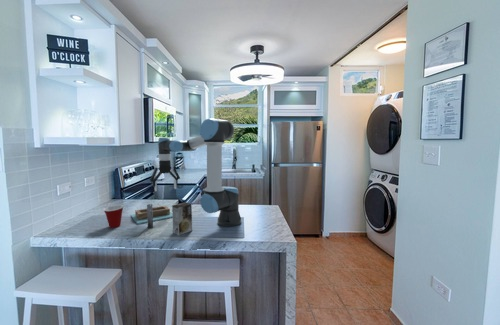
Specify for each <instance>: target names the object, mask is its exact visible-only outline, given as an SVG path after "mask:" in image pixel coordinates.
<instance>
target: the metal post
mask: <svg viewBox="0 0 500 325" xmlns="http://www.w3.org/2000/svg"><path fill="white" fill-rule="evenodd" d="M146 209H147V221H148V223H147V228H148V229H152V228H154V221H153V204H152V203H148V204H146Z"/></svg>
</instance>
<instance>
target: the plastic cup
mask: <svg viewBox="0 0 500 325" xmlns="http://www.w3.org/2000/svg"><path fill="white" fill-rule="evenodd" d="M123 208H124V205H122V204H117V205H112V206H111V205H110V206H107V207H105V208H103V209H102V210H103V212H104V213H105V216H106V219H107V224H108V227H109V228H110V229H113V228H114V229H115V227H116V228H119V227H121V224H122V217H123V216H122V215H123V210H124V209H123Z"/></svg>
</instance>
